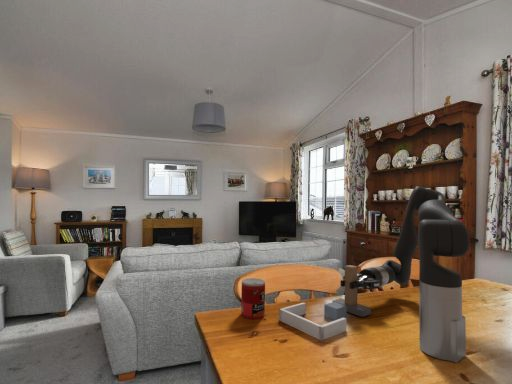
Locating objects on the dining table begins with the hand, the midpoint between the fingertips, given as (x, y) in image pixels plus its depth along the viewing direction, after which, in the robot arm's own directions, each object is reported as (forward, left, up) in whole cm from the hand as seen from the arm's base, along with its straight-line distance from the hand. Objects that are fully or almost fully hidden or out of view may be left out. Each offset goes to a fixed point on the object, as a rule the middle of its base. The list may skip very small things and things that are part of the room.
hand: (346, 284), depth 100 cm
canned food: (+17, +27, -10) cm, 33 cm away
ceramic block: (0, +6, -10) cm, 11 cm away
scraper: (0, -3, -9) cm, 10 cm away
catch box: (0, +17, -10) cm, 20 cm away
